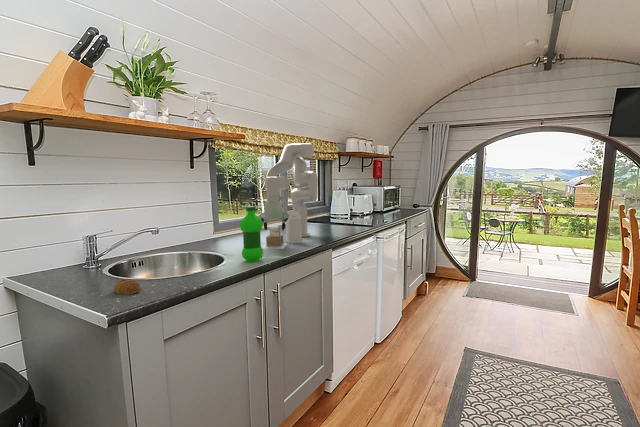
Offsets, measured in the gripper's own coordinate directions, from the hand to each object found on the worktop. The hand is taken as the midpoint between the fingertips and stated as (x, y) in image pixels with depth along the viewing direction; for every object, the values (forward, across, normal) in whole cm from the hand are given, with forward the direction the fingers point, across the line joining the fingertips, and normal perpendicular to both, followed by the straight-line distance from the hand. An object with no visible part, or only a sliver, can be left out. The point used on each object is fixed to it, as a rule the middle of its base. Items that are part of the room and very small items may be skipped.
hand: (274, 229), depth 189 cm
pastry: (+10, +36, +77) cm, 86 cm away
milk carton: (+10, -10, -8) cm, 16 cm away
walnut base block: (+9, 0, 0) cm, 9 cm away
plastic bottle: (+10, +4, +34) cm, 35 cm away
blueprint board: (+9, 0, +4) cm, 10 cm away
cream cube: (+3, 0, 0) cm, 3 cm away
